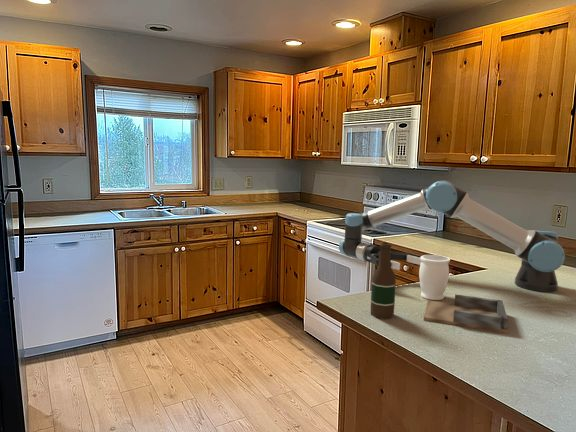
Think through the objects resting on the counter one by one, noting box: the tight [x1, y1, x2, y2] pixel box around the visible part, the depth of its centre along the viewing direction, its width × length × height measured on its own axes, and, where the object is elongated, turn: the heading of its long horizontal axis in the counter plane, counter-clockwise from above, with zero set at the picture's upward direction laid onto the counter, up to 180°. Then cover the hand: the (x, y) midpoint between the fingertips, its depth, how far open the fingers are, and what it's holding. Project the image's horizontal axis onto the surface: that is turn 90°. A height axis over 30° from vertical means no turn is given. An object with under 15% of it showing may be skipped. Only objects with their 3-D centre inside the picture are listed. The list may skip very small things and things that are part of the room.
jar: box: [418, 254, 451, 301], centre depth 156 cm, size 11×10×15 cm
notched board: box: [423, 294, 509, 334], centre depth 138 cm, size 24×17×4 cm
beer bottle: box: [370, 242, 397, 320], centre depth 137 cm, size 8×8×24 cm
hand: (410, 264), depth 164 cm, fingers open, 13 cm apart
